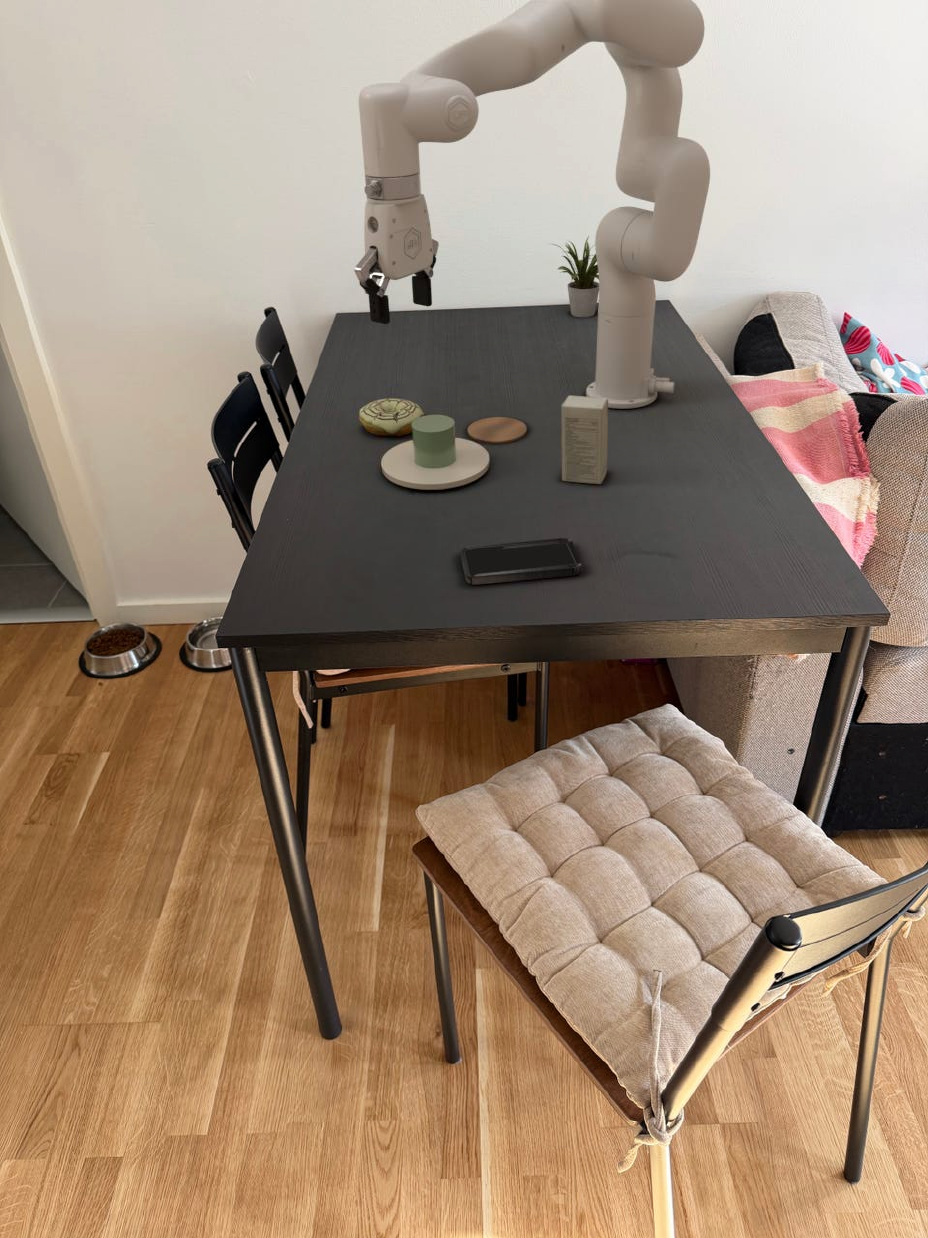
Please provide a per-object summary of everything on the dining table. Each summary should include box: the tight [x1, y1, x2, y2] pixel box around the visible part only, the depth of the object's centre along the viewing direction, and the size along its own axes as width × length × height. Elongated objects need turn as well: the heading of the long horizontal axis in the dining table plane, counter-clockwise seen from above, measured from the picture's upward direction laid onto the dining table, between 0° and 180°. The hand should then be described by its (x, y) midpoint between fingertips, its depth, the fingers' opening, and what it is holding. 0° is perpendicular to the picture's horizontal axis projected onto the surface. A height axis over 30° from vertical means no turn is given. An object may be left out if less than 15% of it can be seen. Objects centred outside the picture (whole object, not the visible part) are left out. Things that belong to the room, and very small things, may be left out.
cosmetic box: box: [560, 394, 609, 485], centre depth 141 cm, size 6×4×12 cm
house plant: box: [547, 235, 599, 318], centre depth 205 cm, size 14×14×16 cm
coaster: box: [467, 416, 528, 444], centre depth 160 cm, size 10×10×1 cm
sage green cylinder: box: [411, 414, 456, 468], centre depth 147 cm, size 7×7×6 cm
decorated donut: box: [359, 397, 425, 437], centre depth 162 cm, size 10×11×4 cm
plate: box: [380, 437, 491, 491], centre depth 149 cm, size 17×17×2 cm
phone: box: [460, 537, 582, 586], centre depth 124 cm, size 8×1×15 cm
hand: (402, 313), depth 139 cm, fingers open, 9 cm apart
